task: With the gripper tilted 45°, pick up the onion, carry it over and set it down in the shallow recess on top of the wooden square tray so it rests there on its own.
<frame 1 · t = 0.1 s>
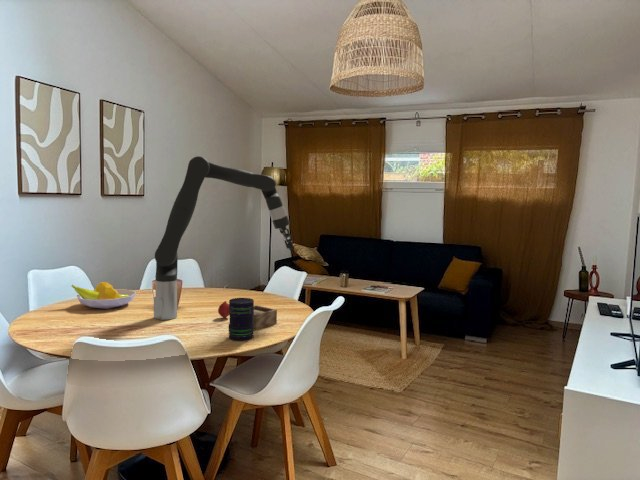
hand: (290, 249, 219), 31 cm above the table, tool tilted 20°, fingers open, 8 cm apart
storage jar: (241, 337, 182), on the table
fruit bowl: (105, 306, 228), on the table
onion: (224, 318, 210), on the table
wooden square tray: (255, 324, 203), on the table
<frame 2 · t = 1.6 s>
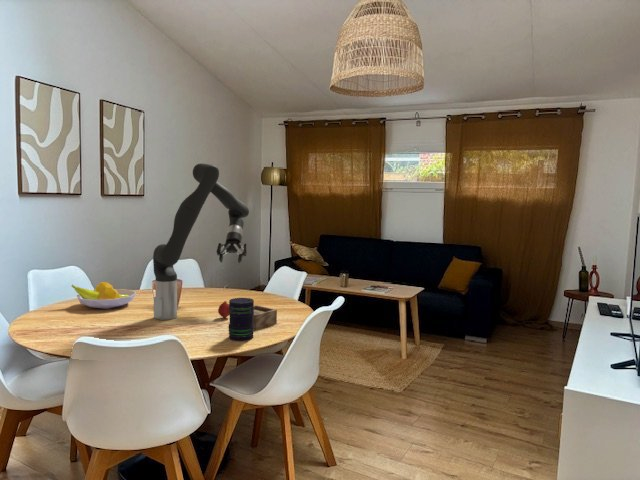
hand: (230, 261, 220), 24 cm above the table, tool tilted 45°, fingers open, 8 cm apart
nothing on the table moved.
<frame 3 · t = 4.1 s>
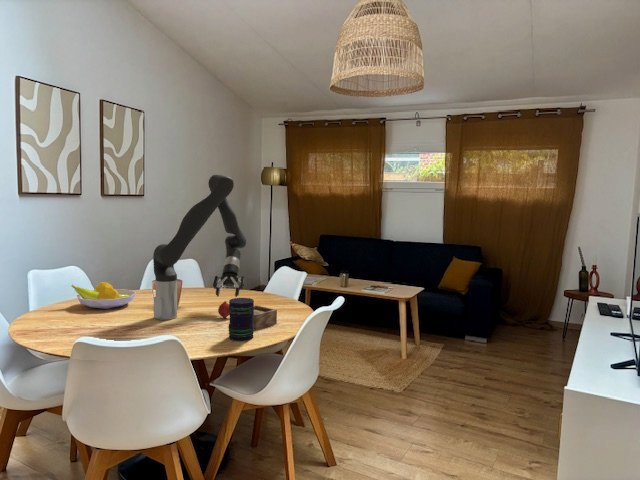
hand: (226, 295, 214), 9 cm above the table, tool tilted 45°, fingers open, 8 cm apart
nothing on the table moved.
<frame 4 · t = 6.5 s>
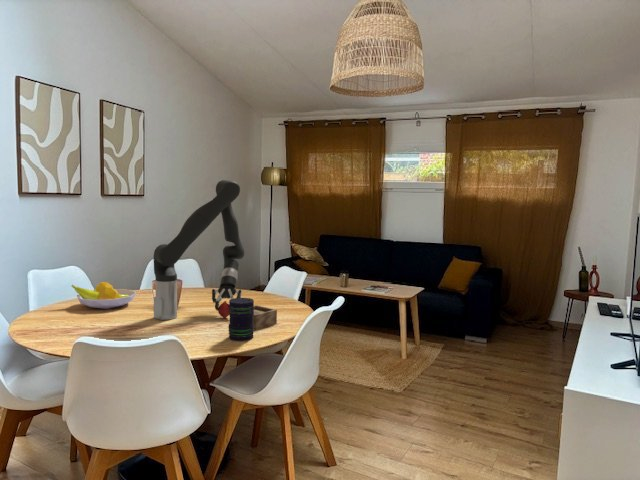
hand: (224, 309, 208), 4 cm above the table, tool tilted 45°, fingers closed on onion, 5 cm apart
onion: (224, 318, 210), on the table, touching gripper
everything else where it was.
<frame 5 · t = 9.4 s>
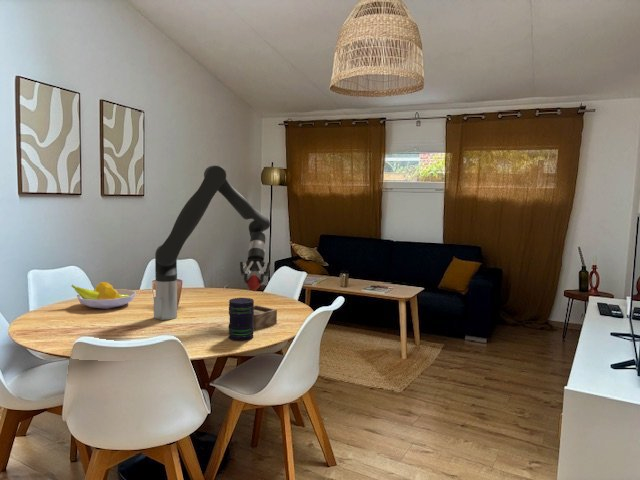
hand: (253, 282, 201), 18 cm above the table, tool tilted 45°, fingers closed on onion, 5 cm apart
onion: (253, 291, 203), point 14 cm above the table, touching gripper
everything else where it was.
when the fingers open (10 cm above the table, at t = 12.5 s): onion stays where it is, resting on wooden square tray.
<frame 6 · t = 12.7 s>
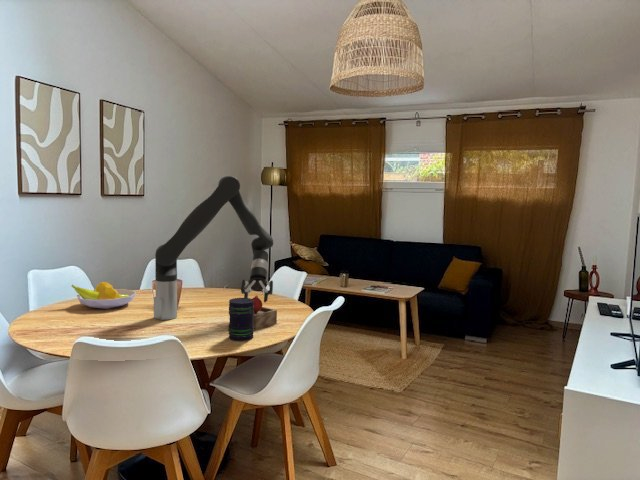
hand: (255, 301, 200), 10 cm above the table, tool tilted 45°, fingers open, 7 cm apart
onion: (255, 313, 202), point 4 cm above the table, touching wooden square tray
wooden square tray: (255, 324, 203), on the table, touching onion
everything else where it was.
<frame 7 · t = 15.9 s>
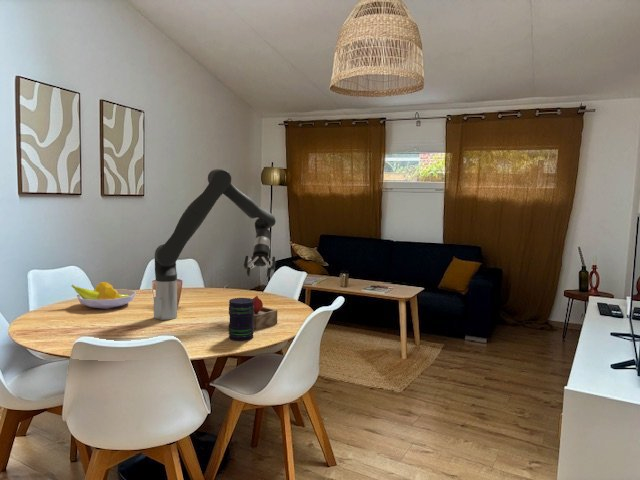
hand: (258, 275, 208), 20 cm above the table, tool tilted 45°, fingers open, 8 cm apart
nothing on the table moved.
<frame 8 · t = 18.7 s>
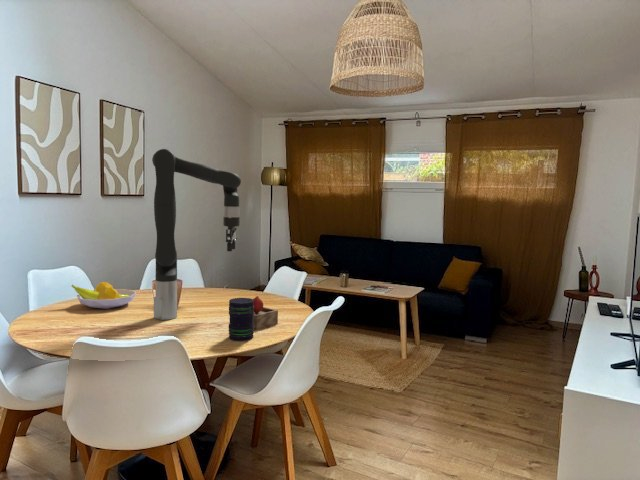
hand: (231, 250, 218), 30 cm above the table, tool pointing down, fingers open, 8 cm apart
nothing on the table moved.
at the end: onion inside the target area on the wooden square tray (0.2 cm from its centre), point 4.8 cm above the wooden square tray's base; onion touching wooden square tray; the gripper is holding nothing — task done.
